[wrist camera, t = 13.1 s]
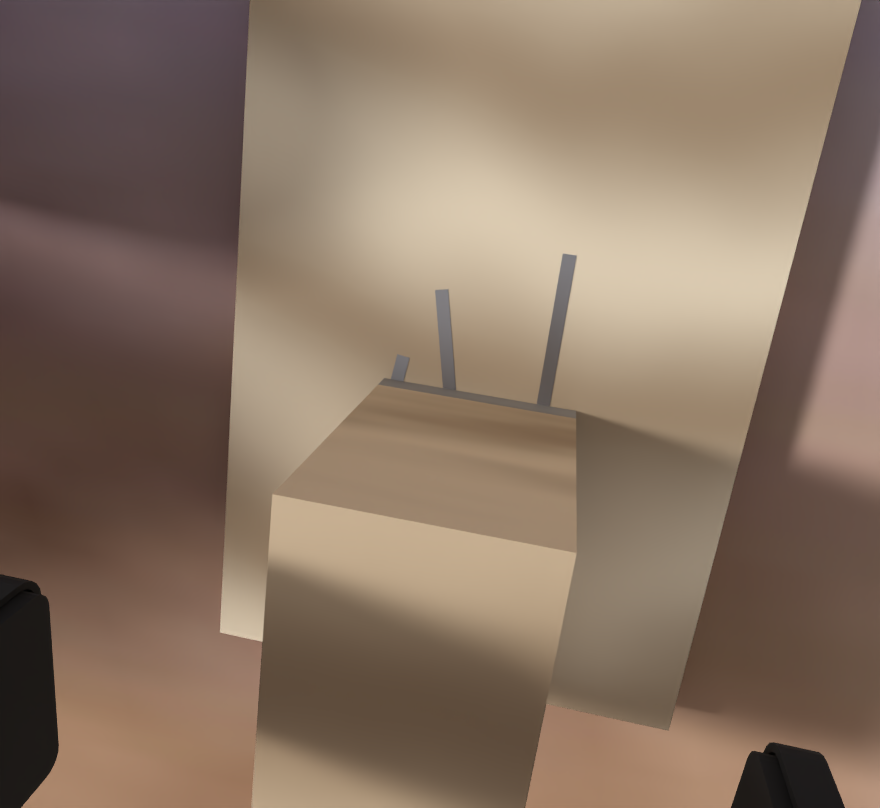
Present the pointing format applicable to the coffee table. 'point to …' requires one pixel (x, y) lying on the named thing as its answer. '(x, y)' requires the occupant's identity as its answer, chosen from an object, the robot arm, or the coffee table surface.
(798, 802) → the robot arm
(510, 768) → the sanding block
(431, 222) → the board
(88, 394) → the coffee table surface
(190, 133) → the coffee table surface
